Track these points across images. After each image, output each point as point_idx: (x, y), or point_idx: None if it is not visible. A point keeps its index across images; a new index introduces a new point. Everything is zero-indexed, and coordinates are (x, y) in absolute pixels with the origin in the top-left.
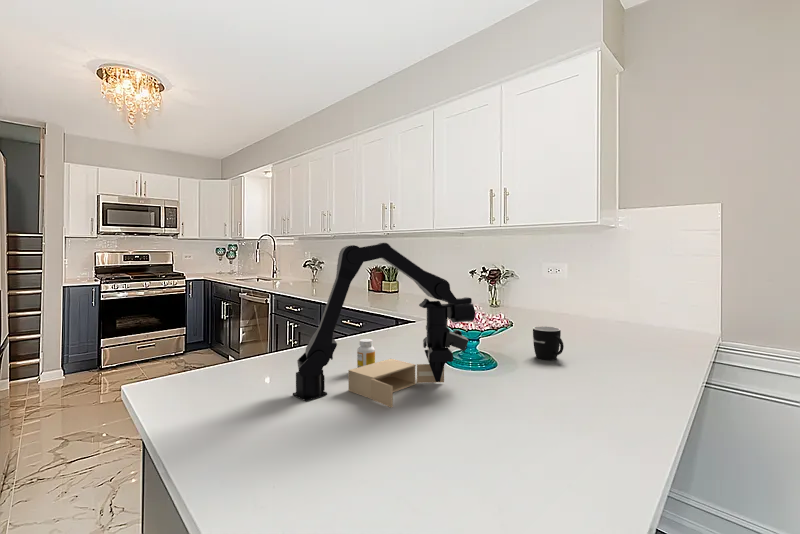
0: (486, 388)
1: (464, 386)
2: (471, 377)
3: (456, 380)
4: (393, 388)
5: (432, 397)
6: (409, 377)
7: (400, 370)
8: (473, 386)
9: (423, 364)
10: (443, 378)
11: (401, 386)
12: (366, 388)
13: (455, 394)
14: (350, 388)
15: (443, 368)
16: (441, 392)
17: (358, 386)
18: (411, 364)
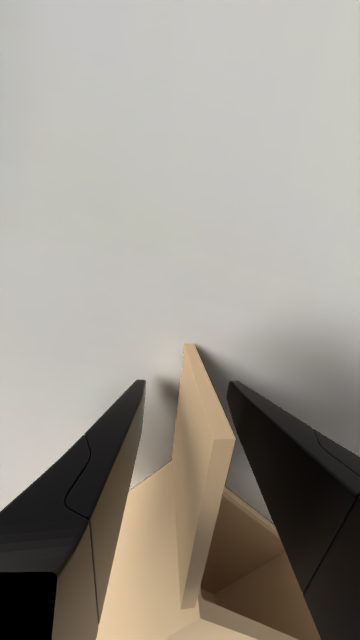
0: (330, 85)
1: (254, 237)
2: (60, 98)
3: (135, 255)
4: (236, 517)
5: (338, 407)
6: (163, 503)
7: (279, 634)
8: (269, 174)
9: (194, 580)
10: (197, 358)
11: (221, 500)
12: (287, 596)
13: (345, 318)
14: (220, 599)
15: (217, 406)
16: (301, 370)
17: (255, 609)
18: (189, 633)
